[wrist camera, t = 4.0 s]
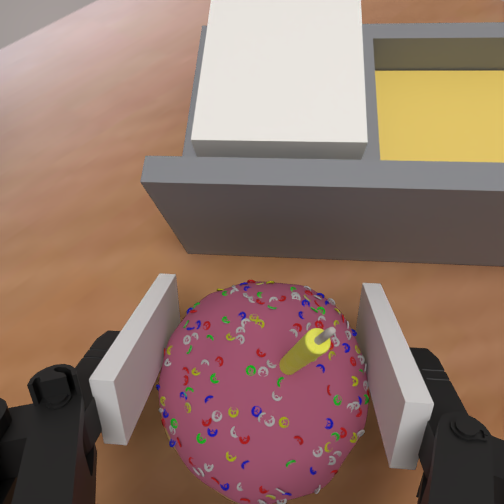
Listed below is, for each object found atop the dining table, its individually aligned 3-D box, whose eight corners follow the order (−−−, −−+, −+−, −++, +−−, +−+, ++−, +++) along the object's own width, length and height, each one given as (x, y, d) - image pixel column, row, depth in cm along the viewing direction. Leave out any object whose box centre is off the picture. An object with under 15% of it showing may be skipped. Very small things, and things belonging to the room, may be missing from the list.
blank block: (217, 215, 21) (190, 139, 15) (231, 81, 25) (215, -29, 18) (339, 219, 21) (367, 142, 14) (336, 81, 24) (359, -32, 18)
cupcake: (293, 275, 21) (312, 149, 10) (382, 417, 18) (550, 464, 7) (158, 352, 20) (10, 307, 9) (231, 514, 17) (149, 746, 6)
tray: (188, 253, 22) (140, 181, 14) (211, 72, 27) (185, -54, 19) (660, 272, 20) (901, 200, 12) (595, 72, 25) (739, -70, 17)
